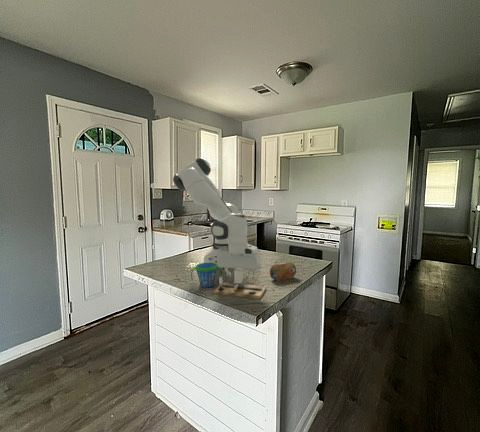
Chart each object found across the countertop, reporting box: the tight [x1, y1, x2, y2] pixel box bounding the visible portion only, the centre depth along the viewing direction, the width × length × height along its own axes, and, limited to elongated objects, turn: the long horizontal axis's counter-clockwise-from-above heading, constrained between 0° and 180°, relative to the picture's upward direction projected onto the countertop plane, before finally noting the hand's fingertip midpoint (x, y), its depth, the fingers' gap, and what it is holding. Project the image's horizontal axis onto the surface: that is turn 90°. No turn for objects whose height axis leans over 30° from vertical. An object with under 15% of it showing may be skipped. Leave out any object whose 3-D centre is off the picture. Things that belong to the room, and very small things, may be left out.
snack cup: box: [190, 262, 224, 289], centre depth 132 cm, size 16×10×10 cm
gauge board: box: [212, 281, 267, 300], centre depth 124 cm, size 22×12×2 cm, turn 72°
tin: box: [269, 262, 297, 282], centre depth 140 cm, size 15×3×8 cm, turn 114°
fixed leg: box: [218, 276, 224, 290], centre depth 123 cm, size 2×2×6 cm
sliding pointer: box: [232, 268, 245, 291], centre depth 123 cm, size 4×7×8 cm, turn 162°
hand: (238, 277), depth 124 cm, fingers open, 8 cm apart
